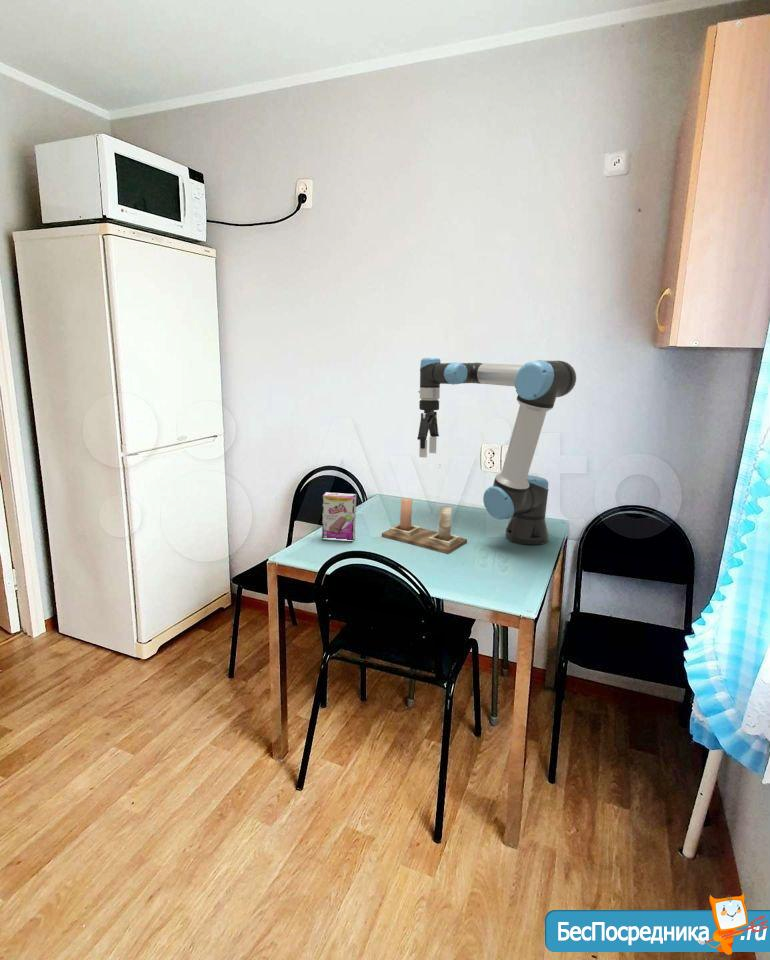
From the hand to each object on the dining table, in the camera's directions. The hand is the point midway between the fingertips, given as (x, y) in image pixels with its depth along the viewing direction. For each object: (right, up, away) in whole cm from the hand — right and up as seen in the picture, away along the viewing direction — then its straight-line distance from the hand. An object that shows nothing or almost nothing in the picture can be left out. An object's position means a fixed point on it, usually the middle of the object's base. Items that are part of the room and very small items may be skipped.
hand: (427, 455), depth 216 cm
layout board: (-3, -31, -17) cm, 35 cm away
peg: (-9, -28, -13) cm, 32 cm away
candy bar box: (-33, -31, -19) cm, 49 cm away
